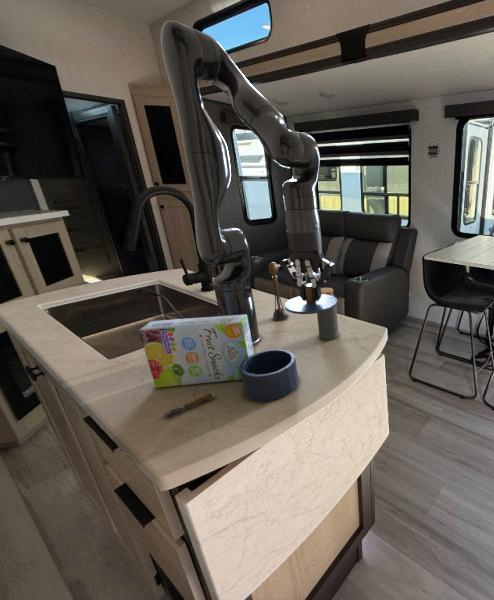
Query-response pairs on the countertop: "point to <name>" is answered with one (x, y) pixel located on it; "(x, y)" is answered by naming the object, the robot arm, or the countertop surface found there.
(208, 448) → the countertop surface
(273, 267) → the wooden tabletop sculpture
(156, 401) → the countertop surface
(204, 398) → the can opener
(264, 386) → the blue round container
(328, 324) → the bottle
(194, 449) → the countertop surface
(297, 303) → the lid
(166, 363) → the snack box
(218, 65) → the robot arm
